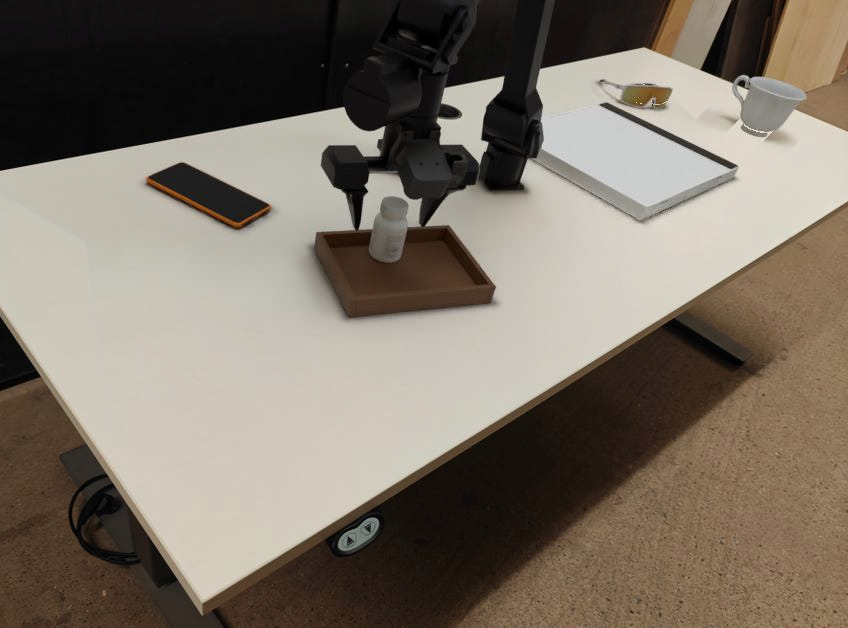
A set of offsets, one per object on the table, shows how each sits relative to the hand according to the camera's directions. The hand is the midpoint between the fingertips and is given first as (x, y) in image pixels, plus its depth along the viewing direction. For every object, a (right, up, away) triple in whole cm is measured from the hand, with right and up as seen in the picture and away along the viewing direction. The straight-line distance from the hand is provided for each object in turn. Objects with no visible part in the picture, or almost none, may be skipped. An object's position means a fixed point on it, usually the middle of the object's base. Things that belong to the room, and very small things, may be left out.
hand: (389, 226), depth 86 cm
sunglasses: (+59, +44, +70) cm, 101 cm away
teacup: (+83, +35, +65) cm, 111 cm away
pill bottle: (-1, -3, +3) cm, 5 cm away
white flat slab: (+45, +21, +41) cm, 64 cm away
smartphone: (-25, +6, +7) cm, 27 cm away
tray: (+2, -6, +1) cm, 6 cm away
